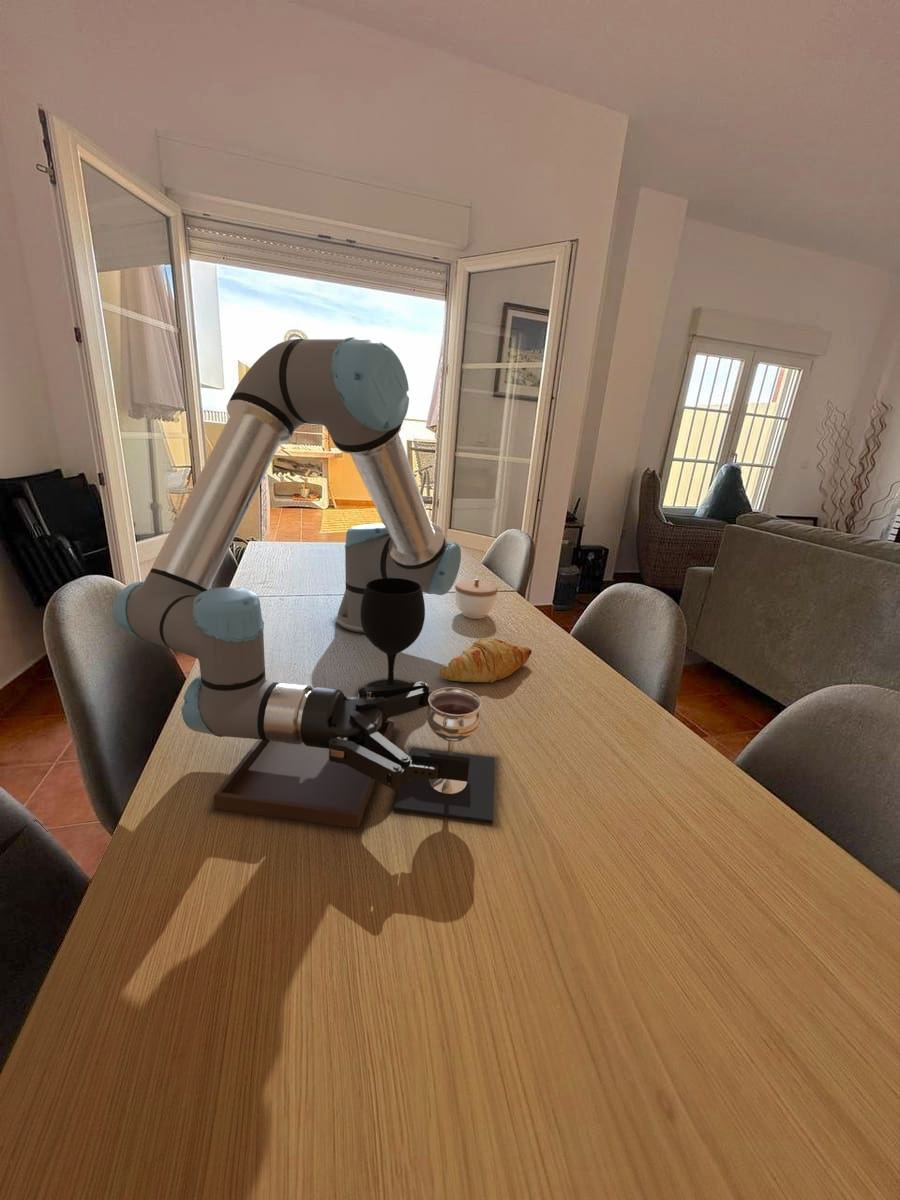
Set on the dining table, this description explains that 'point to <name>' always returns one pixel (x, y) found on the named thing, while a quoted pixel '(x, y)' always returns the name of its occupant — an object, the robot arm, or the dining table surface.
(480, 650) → the croissant
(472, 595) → the trinket box
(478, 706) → the wineglass
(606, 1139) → the dining table surface
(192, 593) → the robot arm
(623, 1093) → the dining table surface
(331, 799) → the tray
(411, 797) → the mat
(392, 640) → the wine glass
